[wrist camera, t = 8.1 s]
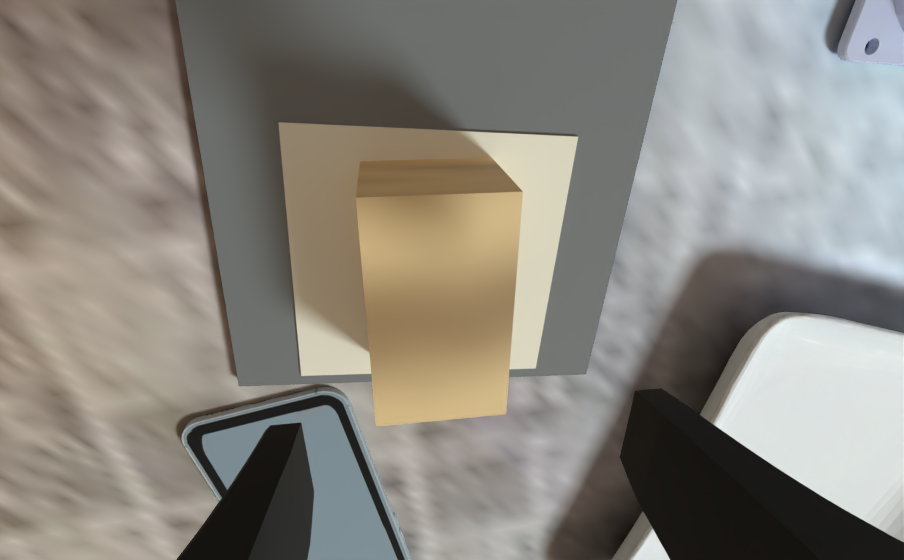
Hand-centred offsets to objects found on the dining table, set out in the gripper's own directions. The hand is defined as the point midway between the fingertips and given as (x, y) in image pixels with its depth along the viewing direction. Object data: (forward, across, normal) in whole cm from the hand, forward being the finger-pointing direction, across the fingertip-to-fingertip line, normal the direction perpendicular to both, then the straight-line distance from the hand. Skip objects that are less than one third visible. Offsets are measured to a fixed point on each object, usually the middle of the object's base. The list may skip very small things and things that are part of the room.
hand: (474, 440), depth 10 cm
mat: (+9, 0, -4) cm, 10 cm away
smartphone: (+10, +6, +14) cm, 18 cm away
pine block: (+9, 0, 0) cm, 9 cm away
